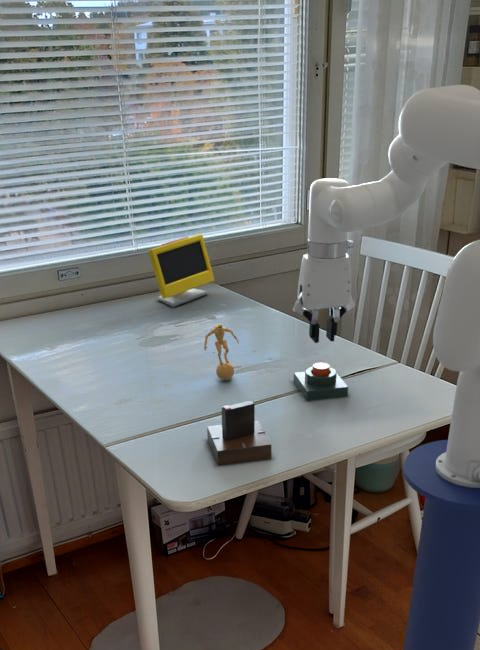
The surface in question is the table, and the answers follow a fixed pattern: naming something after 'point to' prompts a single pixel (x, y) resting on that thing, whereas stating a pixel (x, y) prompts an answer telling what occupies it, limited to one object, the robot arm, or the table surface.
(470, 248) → the robot arm
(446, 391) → the table surface
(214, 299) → the table surface
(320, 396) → the box
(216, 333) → the figurine
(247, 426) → the handle
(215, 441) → the panel
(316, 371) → the button
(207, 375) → the table surface
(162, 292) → the toy computer monitor
